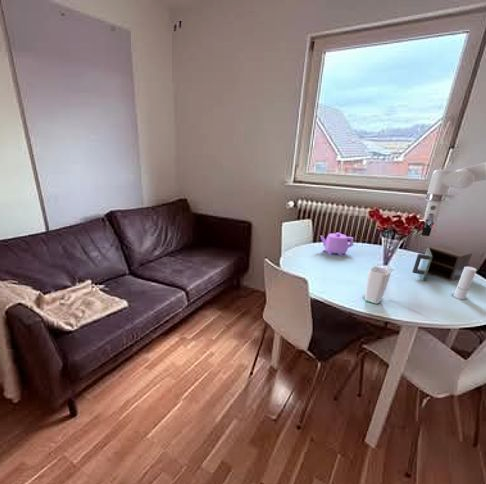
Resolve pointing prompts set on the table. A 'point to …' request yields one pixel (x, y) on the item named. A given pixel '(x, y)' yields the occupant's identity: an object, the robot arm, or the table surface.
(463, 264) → the cupboard
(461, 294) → the tube
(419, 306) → the table surface
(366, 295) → the cup
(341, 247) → the teapot
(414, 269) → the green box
